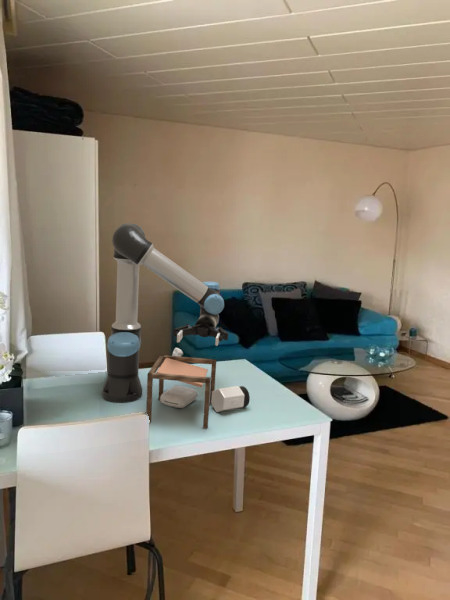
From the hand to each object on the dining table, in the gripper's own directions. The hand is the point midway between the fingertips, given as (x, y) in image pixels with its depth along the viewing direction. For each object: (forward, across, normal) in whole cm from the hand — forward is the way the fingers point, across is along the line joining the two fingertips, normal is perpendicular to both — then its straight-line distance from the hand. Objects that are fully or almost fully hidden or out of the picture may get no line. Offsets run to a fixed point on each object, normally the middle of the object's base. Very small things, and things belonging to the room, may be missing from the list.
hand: (197, 340), depth 168 cm
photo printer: (-14, +5, -25) cm, 29 cm away
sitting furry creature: (-38, +15, -28) cm, 50 cm away
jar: (-3, -8, -23) cm, 24 cm away
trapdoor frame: (0, +4, -27) cm, 28 cm away
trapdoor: (0, +5, -12) cm, 13 cm away
